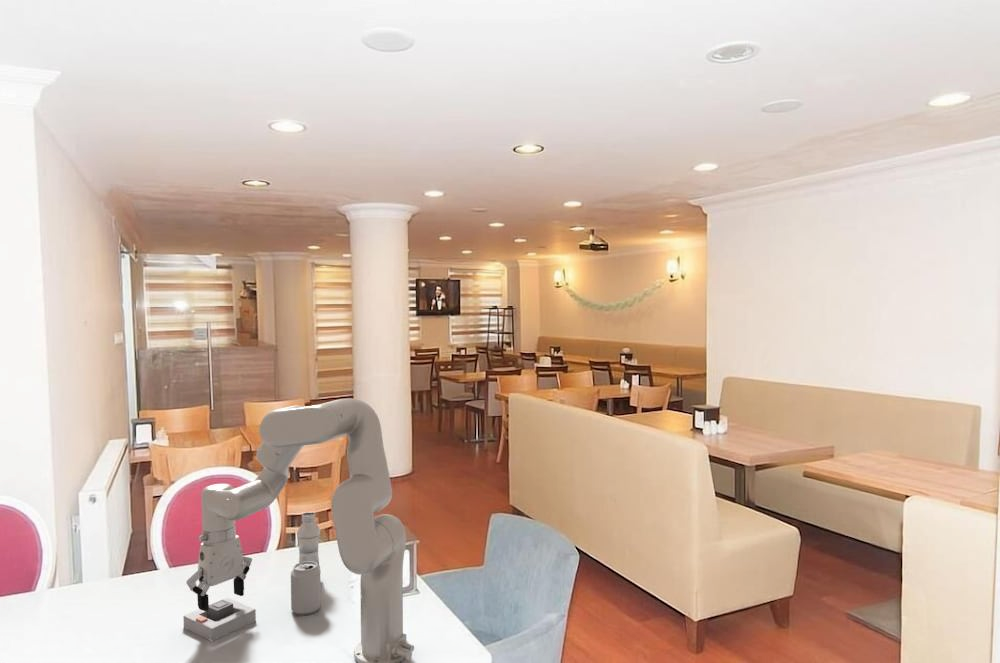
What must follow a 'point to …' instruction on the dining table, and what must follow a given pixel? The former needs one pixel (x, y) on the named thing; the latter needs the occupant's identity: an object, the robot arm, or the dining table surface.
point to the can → (305, 588)
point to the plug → (219, 610)
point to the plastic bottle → (308, 539)
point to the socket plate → (219, 621)
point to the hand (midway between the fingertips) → (221, 602)
